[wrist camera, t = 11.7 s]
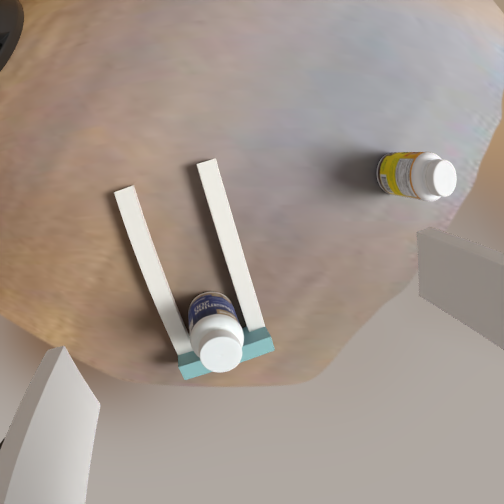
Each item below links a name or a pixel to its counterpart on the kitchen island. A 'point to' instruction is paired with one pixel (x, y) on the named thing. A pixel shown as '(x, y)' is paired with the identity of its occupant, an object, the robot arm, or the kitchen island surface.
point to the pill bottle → (215, 332)
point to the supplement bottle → (416, 175)
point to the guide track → (255, 332)
